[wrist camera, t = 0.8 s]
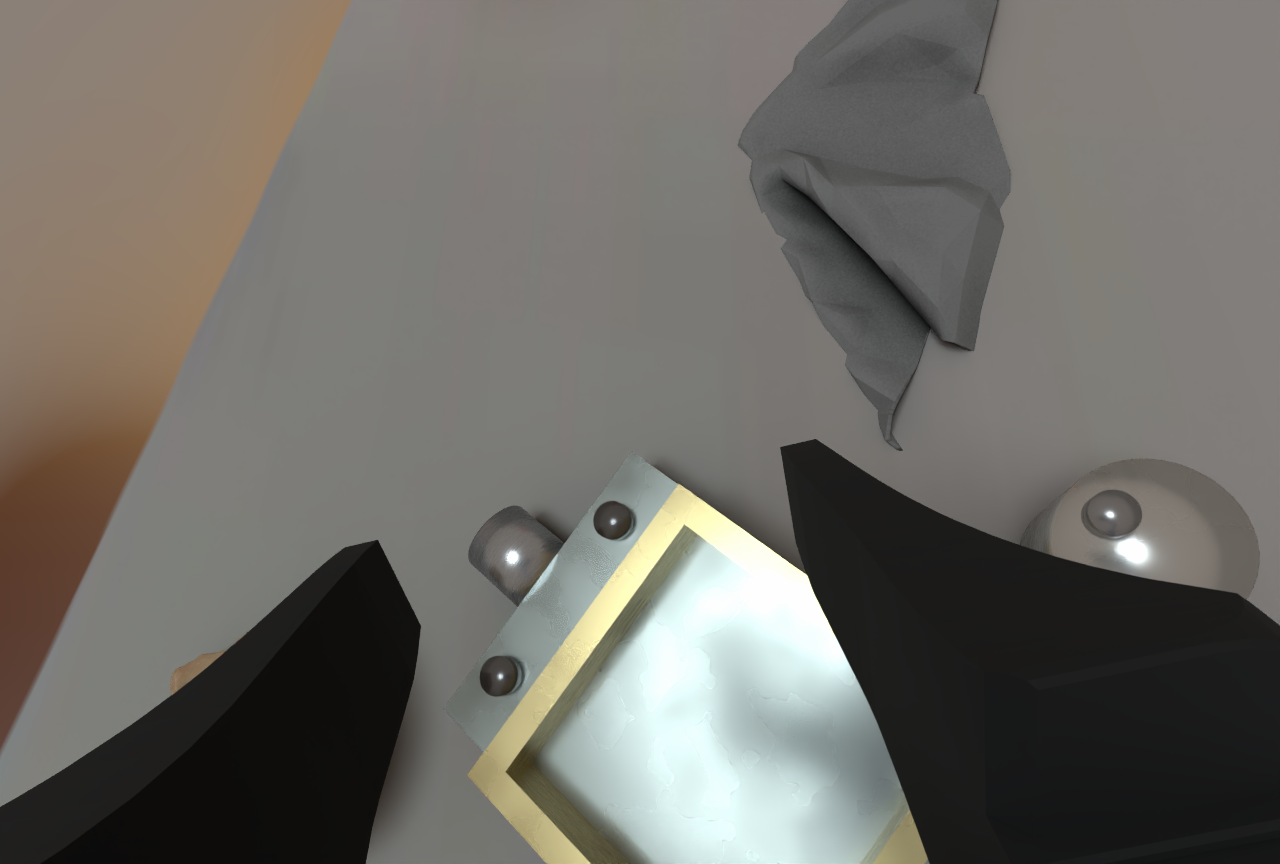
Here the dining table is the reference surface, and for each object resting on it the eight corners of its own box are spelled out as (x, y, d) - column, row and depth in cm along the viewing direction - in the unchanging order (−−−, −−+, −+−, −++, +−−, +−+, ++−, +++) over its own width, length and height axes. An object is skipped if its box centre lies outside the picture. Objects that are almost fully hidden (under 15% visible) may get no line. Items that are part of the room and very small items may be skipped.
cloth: (828, -84, 36) (825, -129, 34) (1144, -85, 31) (1163, -138, 28) (644, 388, 32) (627, 370, 29) (973, 482, 26) (981, 467, 24)
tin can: (1206, 550, 23) (1315, 517, 17) (1127, 667, 23) (1210, 673, 17) (1065, 472, 25) (1121, 419, 19) (990, 579, 25) (1024, 558, 19)
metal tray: (1084, 779, 22) (1131, 809, 18) (864, 1106, 22) (861, 1212, 18) (598, 428, 31) (555, 395, 27) (431, 656, 30) (361, 657, 26)
